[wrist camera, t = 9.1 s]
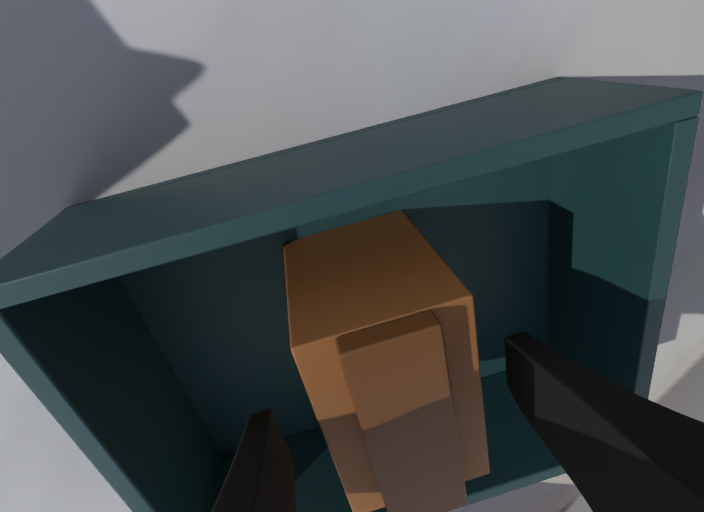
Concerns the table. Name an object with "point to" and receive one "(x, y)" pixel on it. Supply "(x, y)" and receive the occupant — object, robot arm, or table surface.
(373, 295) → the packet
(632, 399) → the robot arm
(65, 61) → the table surface
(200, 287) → the open box
